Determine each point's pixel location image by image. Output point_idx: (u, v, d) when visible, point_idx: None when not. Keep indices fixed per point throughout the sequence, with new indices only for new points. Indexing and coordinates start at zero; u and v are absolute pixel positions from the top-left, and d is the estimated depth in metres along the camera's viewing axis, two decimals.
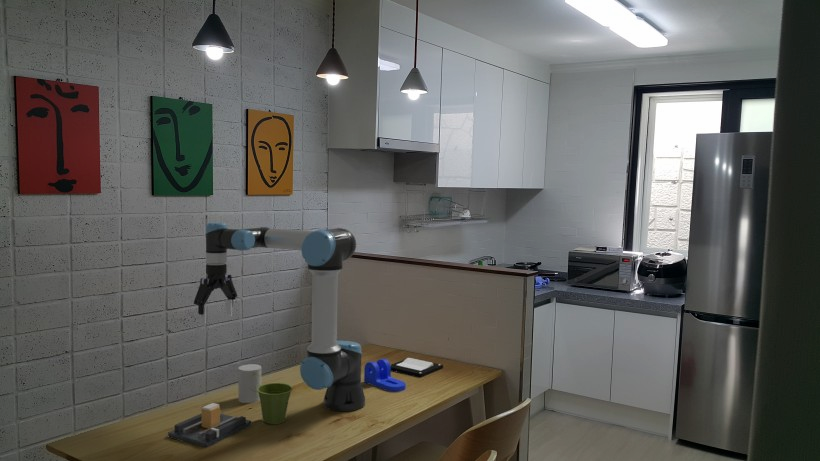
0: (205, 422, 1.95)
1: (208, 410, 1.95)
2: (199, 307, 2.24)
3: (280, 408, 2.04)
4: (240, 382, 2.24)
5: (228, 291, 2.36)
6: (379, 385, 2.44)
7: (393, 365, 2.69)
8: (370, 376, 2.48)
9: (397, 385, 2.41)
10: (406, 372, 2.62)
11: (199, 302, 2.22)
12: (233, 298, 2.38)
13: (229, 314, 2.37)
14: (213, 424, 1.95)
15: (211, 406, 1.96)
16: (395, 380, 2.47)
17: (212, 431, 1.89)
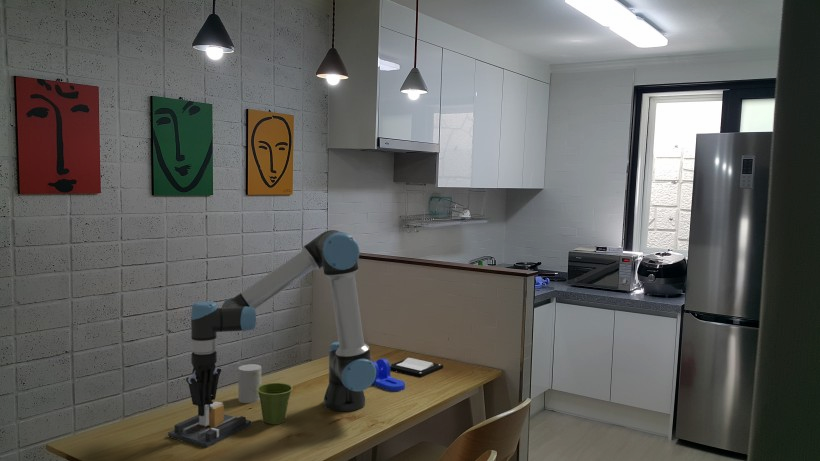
0: (209, 420, 1.97)
1: (212, 408, 1.96)
2: (199, 408, 1.92)
3: (280, 408, 2.04)
4: (240, 382, 2.24)
5: (209, 390, 1.94)
6: (378, 385, 2.44)
7: (393, 365, 2.70)
8: None
9: (396, 385, 2.42)
10: (406, 372, 2.62)
11: (199, 403, 1.90)
12: (210, 402, 1.94)
13: None
14: (217, 422, 1.97)
15: (215, 404, 1.98)
16: (394, 380, 2.48)
17: (212, 431, 1.89)
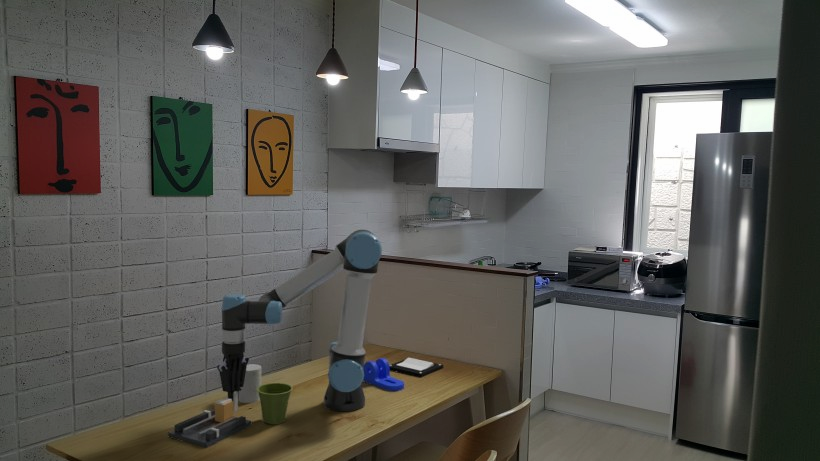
0: (219, 416, 2.01)
1: (221, 404, 2.00)
2: (229, 394, 2.04)
3: (280, 408, 2.04)
4: (240, 382, 2.24)
5: (238, 377, 2.06)
6: (378, 384, 2.45)
7: (393, 365, 2.70)
8: (369, 375, 2.48)
9: (396, 384, 2.42)
10: (406, 372, 2.62)
11: (228, 390, 2.02)
12: (239, 389, 2.06)
13: None
14: (226, 418, 2.01)
15: (224, 400, 2.01)
16: (394, 379, 2.48)
17: (212, 431, 1.89)
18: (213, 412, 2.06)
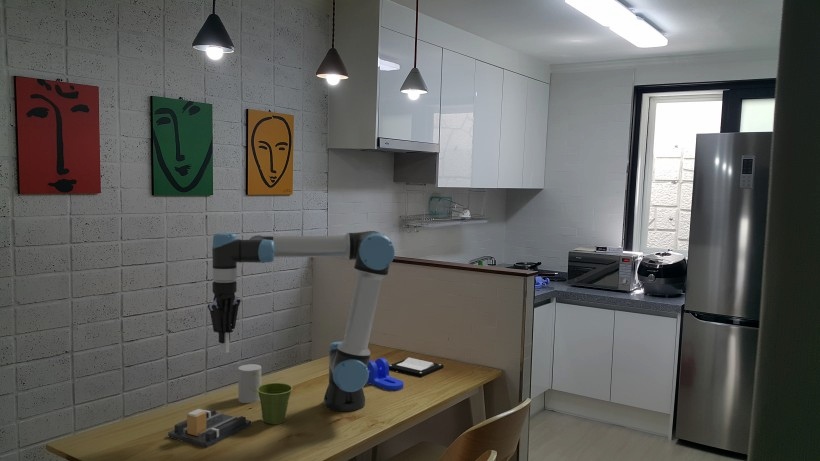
0: (191, 429, 1.90)
1: (194, 416, 1.89)
2: (220, 335, 1.99)
3: (280, 408, 2.04)
4: (240, 382, 2.24)
5: (229, 318, 2.01)
6: (377, 384, 2.45)
7: (393, 365, 2.70)
8: None
9: (395, 384, 2.42)
10: (406, 372, 2.62)
11: (219, 330, 1.97)
12: (230, 330, 2.01)
13: None
14: (199, 431, 1.90)
15: (197, 412, 1.91)
16: (393, 379, 2.48)
17: (212, 431, 1.89)
18: (213, 412, 2.06)
